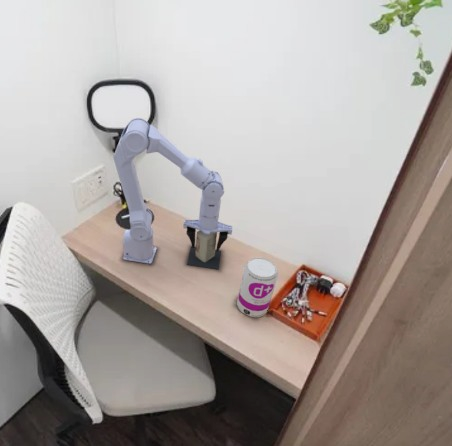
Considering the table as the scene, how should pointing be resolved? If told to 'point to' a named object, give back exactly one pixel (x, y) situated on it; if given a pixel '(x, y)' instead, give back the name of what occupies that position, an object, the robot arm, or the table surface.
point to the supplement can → (257, 287)
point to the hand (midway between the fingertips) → (205, 247)
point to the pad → (195, 261)
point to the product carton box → (205, 245)
